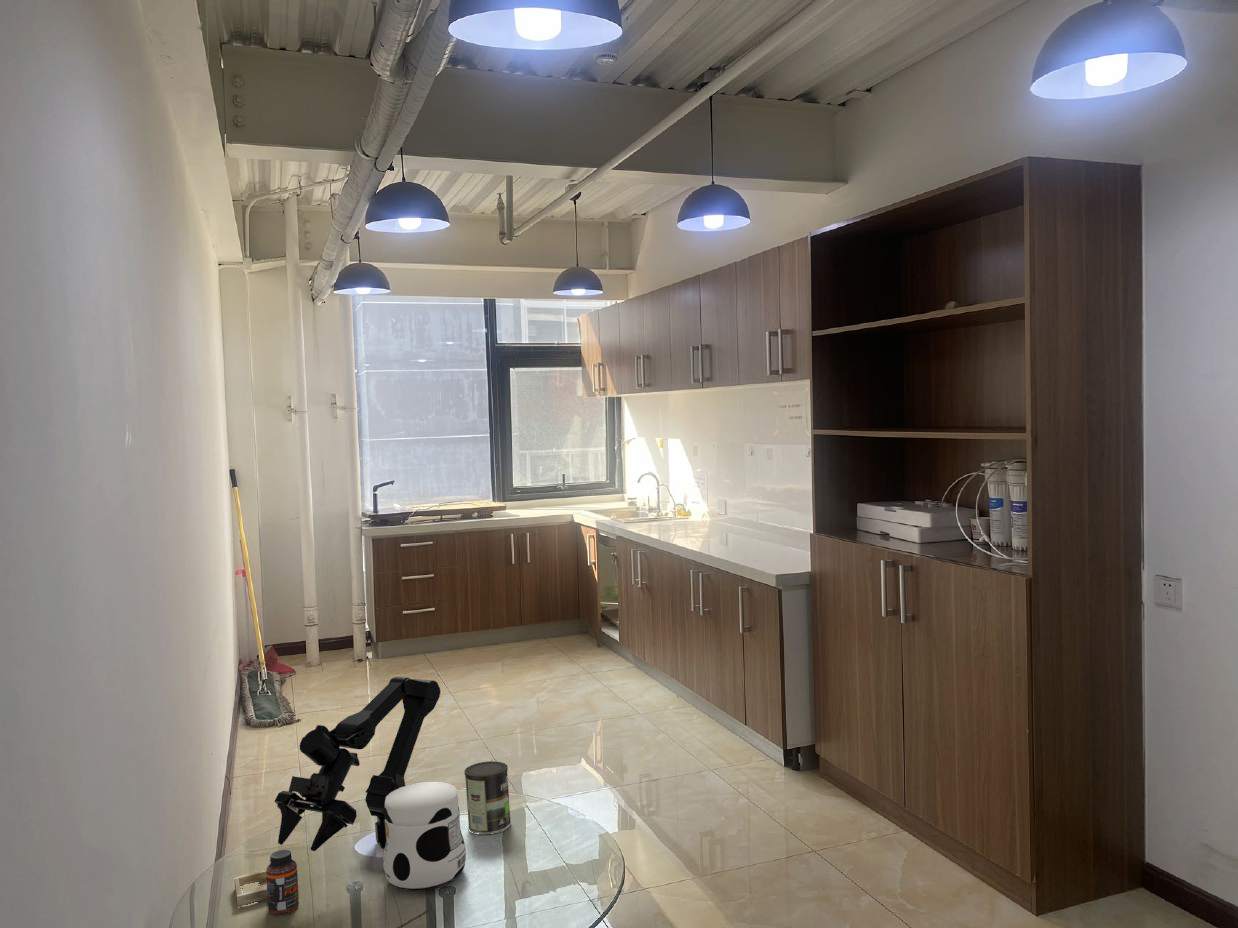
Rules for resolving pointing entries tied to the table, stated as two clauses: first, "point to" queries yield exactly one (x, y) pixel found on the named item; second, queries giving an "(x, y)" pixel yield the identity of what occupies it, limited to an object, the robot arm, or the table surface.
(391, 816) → the milk container
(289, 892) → the supplement bottle
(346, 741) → the robot arm
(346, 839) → the table surface
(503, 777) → the coffee can
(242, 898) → the tray
